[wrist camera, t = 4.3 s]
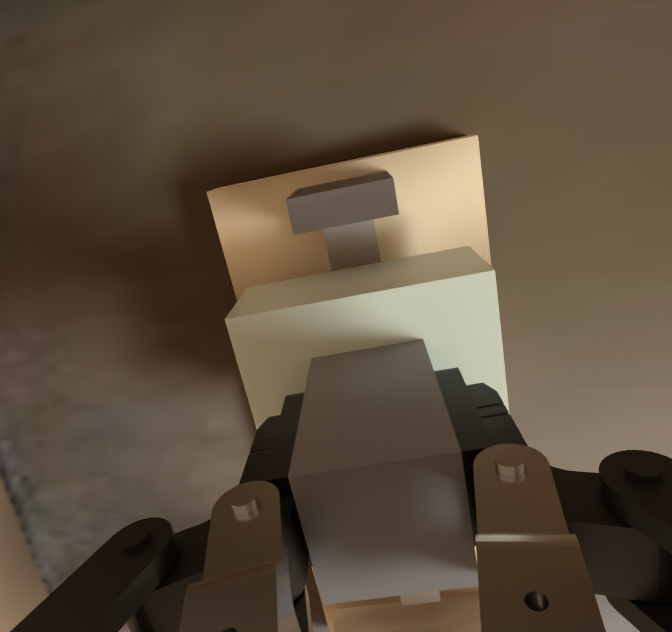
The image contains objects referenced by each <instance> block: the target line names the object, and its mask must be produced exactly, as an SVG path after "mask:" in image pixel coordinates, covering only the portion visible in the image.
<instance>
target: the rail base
mask: <svg viewBox="0 0 672 632" xmlns="http://www.w3.org/2000/svg"><path fill="white" fill-rule="evenodd" d="M207 195H208V199H209V202H210V206H211V210H212V213H213V217H214V220H215V224H216V227H217V231H218V235H219V238H220V242H221V245H222V249H223V253H224V256H225V260H226V263H227V267H228V270H229V274H230V278H231V281H232V285H233V288H234V292H235V295H236V299H237V301H238V300H239V299H240V297H241V296H242V294H243V293H244V292H245V290H246V289H247V287H251V286H257V285H262V284H267V283H273V282H278V281H283V280H288V279H294V278H299V277H304V276H310V275H315V274H320V273H326V272H331V271H336V270H342V269H347V268H352V267H358V266H363V265H368V264H374V263H379V262H384V261H389V260H395V259H400V258H405V257H411V256H416V255H421V254H427V253H432V252H437V251H443V250H448V249H453V248H459V247H464V246H470V247H471V248H472V249H473V250H474V251H475V252H476V253H477V254H478V255H479V256H481V257H482V258H483V259H484V260H485V261H486V262H487V263H488V264H489V265H490V266H491V259H490V249H489V239H488V230H487V220H486V210H485V201H484V191H483V181H482V172H481V162H480V152H479V142H478V135H467V136H462V137H457V138H453V139H448V140H443V141H438V142H434V143H429V144H424V145H419V146H415V147H410V148H405V149H400V150H395V151H391V152H386V153H381V154H376V155H372V156H367V157H362V158H357V159H353V160H348V161H343V162H338V163H333V164H329V165H324V166H319V167H314V168H310V169H305V170H300V171H295V172H291V173H286V174H281V175H276V176H271V177H267V178H262V179H257V180H252V181H248V182H243V183H238V184H233V185H229V186H224V187H219V188H216V189H213V190H211V191H208V192H207ZM475 553H476V546H475ZM476 560H477V553H476ZM312 571H313V574H314V578H315V582H316V585H317V589H318V592H319V596H320V599H321V603H322V607H323V610H324V614H325V617H326V621H327V624H328V628H329V632H481V620H480V603H479V586H474V587H466V588H458V589H449V590H441V591H433V592H425V593H417V594H408V595H400V596H392V597H384V598H375V599H367V600H359V601H351V602H342V603H334V604H326V605H323V601H322V597H321V594H320V590H319V587H318V583H317V579H316V576H315V572H314V569H313V567H312Z"/></svg>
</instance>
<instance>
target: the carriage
mask: <svg viewBox="0 0 672 632" xmlns="http://www.w3.org/2000/svg"><path fill="white" fill-rule="evenodd" d="M225 322H226V326H227V329H228V333H229V336H230V339H231V343H232V346H233V350H234V353H235V357H236V360H237V363H238V367H239V370H240V374H241V377H242V381H243V384H244V387H245V391H246V394H247V398H248V401H249V405H250V408H251V411H252V415H253V418H254V422H255V425H256V429H258V428H259V427H260V426H261V425H262V424H263V422H264V421H265V420H266V419H267V418H268V417H271V416H277V415H281V411H282V407H283V403H284V400H285V396H286V395H291V394H297V393H303V392H305V393H304V398H303V403H302V408H301V413H300V418H299V424H298V429H297V434H296V439H295V444H294V449H293V454H292V459H291V464H290V469H289V474H288V479H289V482H290V486H291V490H292V493H293V497H294V500H295V504H296V508H297V511H298V515H299V518H300V522H301V525H302V529H303V533H304V536H305V540H306V543H307V547H308V551H309V554H310V558H311V561H312V565H313V569H314V572H315V576H316V579H317V583H318V587H319V590H320V594H321V597H322V601H323V605H326V604H334V603H342V602H351V601H359V600H367V599H375V598H384V597H392V596H400V595H408V594H417V593H425V592H433V591H441V590H449V589H458V588H466V587H474V586H478V570H477V560H476V553H475V546H474V539H473V532H472V525H471V518H470V510H469V503H468V496H467V489H466V482H465V475H464V468H463V461H462V454H461V449H460V446H459V443H458V440H457V438H456V435H455V432H454V429H453V426H452V423H451V420H450V417H449V414H448V411H447V408H446V405H445V402H444V399H443V396H442V393H441V390H440V387H439V384H438V381H437V378H436V376H435V373H434V371H438V370H444V369H450V368H456V367H458V368H459V370H460V372H461V374H462V377H463V379H464V381H465V383H466V385H471V384H477V383H485V384H486V385H488V386H489V387H491V388H493V389H494V390H496V391H497V392H498V394H499V396H500V397H501V399H502V401H503V403H504V405H505V406H506V408H507V410H508V412H509V405H508V395H507V386H506V376H505V366H504V356H503V346H502V336H501V326H500V316H499V306H498V297H497V287H496V277H495V270H494V269H493V268H492V267H491V266H490V265H489V264H488V263H487V262H486V261H485V260H484V259H483V258H482V257H481V256H479V255H478V254H477V253H476V252H475V251H474V250H473V249H472V248H471V247H470V246H464V247H459V248H453V249H448V250H443V251H437V252H432V253H427V254H421V255H416V256H411V257H405V258H400V259H395V260H389V261H384V262H379V263H374V264H368V265H363V266H358V267H352V268H347V269H342V270H336V271H331V272H326V273H320V274H315V275H310V276H304V277H299V278H294V279H288V280H283V281H278V282H273V283H267V284H262V285H257V286H251V287H247V289H246V290H245V292H244V293H243V294H242V296H241V297H240V299H239V300H238V301H237V303H236V304H235V306H234V307H233V308H232V310H231V311H230V313H229V314H228V315H227V317H226V318H225Z"/></svg>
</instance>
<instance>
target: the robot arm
mask: <svg viewBox="0 0 672 632" xmlns="http://www.w3.org/2000/svg"><path fill="white" fill-rule="evenodd" d="M434 373H435V376H436V378H437V381H438V384H439V387H440V390H441V393H442V396H443V399H444V402H445V405H446V408H447V411H448V414H449V417H450V420H451V423H452V426H453V429H454V432H455V435H456V438H457V440H458V443H459V446H460V449H461V454H462V461H463V468H464V475H465V482H466V489H467V496H468V503H469V510H470V518H471V525H472V532H473V539H474V546H476V553H477V570H478V586H479V603H480V620H481V632H606V631H605V628H604V624H603V621H602V618H601V614H600V611H599V608H598V604H597V601H596V598H595V594H599V595H605V596H606V598H607V600H608V601H609V603H610V604H611V605H612V606H613V607H614V608H615V609H616V610H617V611H618V612H619V613H620V614H621V615H622V616H623V617H625V618H626V619H627V620H628V621H629V622H630V623H631V624H632V625H634V626H635V627H636V628H637V629H638V630H639V631H640V632H672V459H671V458H669V457H667V456H664V455H661V454H658V453H654V452H649V451H642V450H626V451H620V452H616V453H613V454H611V455H609V456H607V457H605V458H604V459H603V460H602V462H601V463H600V466H599V473H590V472H576V471H568V470H563V469H559V468H555V467H552V466H550V465H549V462H548V460H547V458H546V457H545V456H544V455H543V454H542V453H541V452H539V451H537V450H536V449H533V448H531V447H528V446H527V444H526V442H525V440H524V439H523V437H522V435H521V433H520V431H519V430H518V428H517V426H516V424H515V422H514V421H513V419H512V417H511V415H509V412H508V410H507V408H506V406H505V405H504V403H503V401H502V399H501V397H500V396H499V394H498V392H497V391H496V390H494V389H493V388H491V387H489V386H488V385H486V384H485V383H477V384H471V385H466V383H465V381H464V379H463V377H462V374H461V372H460V370H459V368H458V367H456V368H450V369H444V370H438V371H434ZM304 393H305V392H303V393H297V394H291V395H286V396H285V400H284V403H283V407H282V411H281V415H277V416H271V417H268V418H267V419H266V420H265V421H264V422H263V424H262V425H261V426H260V427H259V428H258V429H257V432H256V435H255V438H254V441H253V444H252V447H251V450H250V455H249V456H248V459H247V462H246V465H245V468H244V471H243V474H242V477H241V480H240V483H239V485H238V486H236V487H234V488H232V489H230V490H229V491H227V492H226V493H224V494H223V495H222V496H221V497H220V498H219V499H218V500H217V502H216V503H215V505H214V507H213V510H212V515H211V519H210V520H208V521H206V522H204V523H202V524H199V525H197V526H194V527H191V528H189V529H186V530H183V531H181V532H178V533H175V534H174V532H173V529H172V527H171V524H170V523H169V522H168V521H167V520H165V519H163V518H146V519H143V520H139V521H137V522H134V523H132V524H130V525H128V526H126V527H124V528H123V529H121V530H120V531H118V532H117V533H116V534H115V535H113V536H112V537H111V538H110V539H109V540H108V541H107V542H106V543H105V544H104V545H103V546H101V547H100V548H99V549H98V550H97V551H96V552H95V553H94V554H93V555H92V556H91V557H90V558H89V559H88V560H86V561H85V562H84V563H83V564H82V565H81V566H80V567H79V568H78V569H77V570H76V571H75V572H74V573H73V574H71V575H70V576H69V577H68V578H67V579H66V580H65V581H64V582H63V583H62V584H61V585H60V586H59V587H58V588H56V589H55V590H54V591H53V592H52V593H51V594H50V595H49V596H48V597H47V598H46V599H45V600H44V601H43V602H41V603H40V604H39V605H38V606H37V607H36V608H35V609H34V610H33V611H32V612H31V613H30V614H29V615H28V616H27V617H25V619H23V620H22V621H21V622H20V623H19V624H18V625H17V626H16V627H15V628H14V629H13V630H12V631H10V632H118V631H119V630H120V629H121V628H122V626H123V625H124V624H125V623H127V625H128V627H129V630H130V632H313V630H312V621H311V612H310V602H309V595H308V591H307V587H306V578H307V569H308V567H313V565H312V561H311V558H310V554H309V551H308V547H307V543H306V540H305V536H304V533H303V529H302V525H301V522H300V518H299V515H298V511H297V508H296V504H295V500H294V497H293V493H292V490H291V486H290V482H289V479H288V474H289V469H290V464H291V459H292V454H293V449H294V444H295V439H296V434H297V429H298V424H299V418H300V413H301V408H302V403H303V398H304Z"/></svg>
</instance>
